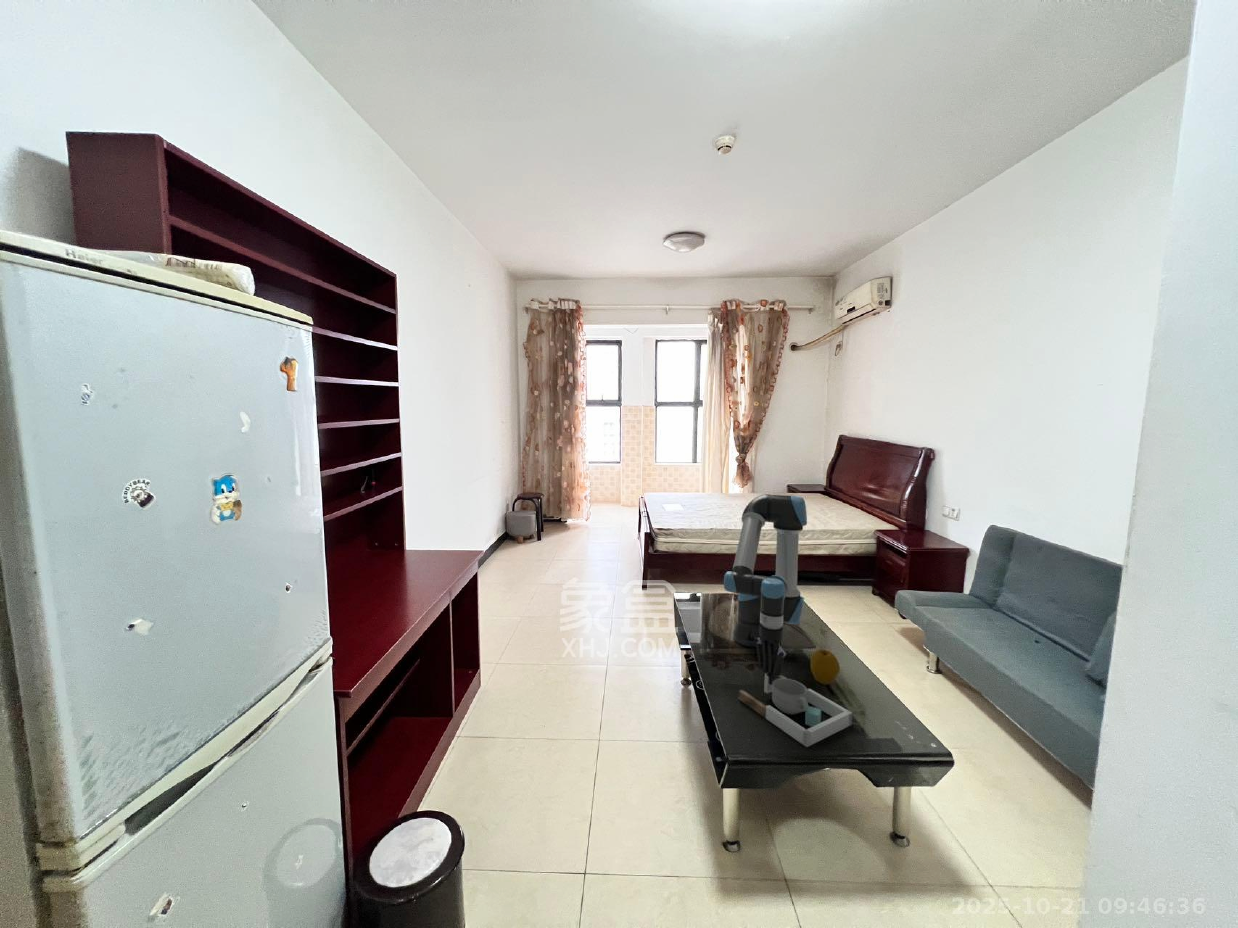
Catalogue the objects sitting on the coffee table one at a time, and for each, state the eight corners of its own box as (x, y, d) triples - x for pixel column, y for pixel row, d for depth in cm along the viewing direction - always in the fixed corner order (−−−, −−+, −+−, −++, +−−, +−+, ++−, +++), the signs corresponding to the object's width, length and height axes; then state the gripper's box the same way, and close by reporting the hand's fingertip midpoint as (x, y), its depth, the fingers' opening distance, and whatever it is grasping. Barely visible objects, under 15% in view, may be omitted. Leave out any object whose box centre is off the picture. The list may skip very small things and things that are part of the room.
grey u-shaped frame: (765, 718, 148) (766, 706, 148) (809, 699, 159) (809, 688, 158) (806, 747, 135) (807, 734, 134) (851, 724, 145) (852, 712, 145)
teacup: (766, 700, 158) (767, 677, 158) (796, 698, 159) (797, 676, 159) (784, 726, 144) (785, 701, 144) (817, 724, 145) (819, 699, 145)
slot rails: (738, 699, 159) (738, 690, 158) (781, 682, 169) (781, 675, 169) (765, 718, 148) (765, 709, 148) (809, 699, 159) (809, 691, 158)
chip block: (805, 724, 145) (805, 711, 145) (807, 717, 149) (807, 705, 149) (818, 728, 143) (819, 715, 143) (820, 721, 147) (821, 709, 147)
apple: (842, 681, 170) (844, 651, 169) (832, 692, 163) (833, 660, 162) (816, 671, 177) (817, 642, 176) (805, 681, 170) (806, 650, 169)
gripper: (749, 620, 162) (746, 685, 164) (778, 634, 151) (775, 704, 153) (764, 616, 166) (762, 679, 167) (794, 630, 155) (791, 698, 156)
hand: (768, 691), depth 160 cm, fingers closed
